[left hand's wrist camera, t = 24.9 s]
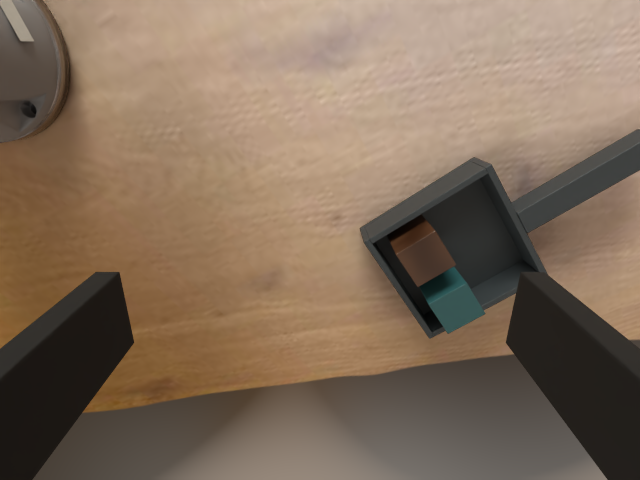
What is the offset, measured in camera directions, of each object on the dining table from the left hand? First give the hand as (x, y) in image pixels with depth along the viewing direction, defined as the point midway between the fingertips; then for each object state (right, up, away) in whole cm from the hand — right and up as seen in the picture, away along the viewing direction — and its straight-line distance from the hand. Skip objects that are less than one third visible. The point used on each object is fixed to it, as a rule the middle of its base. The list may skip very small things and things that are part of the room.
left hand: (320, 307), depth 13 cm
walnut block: (+10, +3, +27) cm, 29 cm away
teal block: (+13, -2, +29) cm, 32 cm away
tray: (+19, +5, +27) cm, 33 cm away
